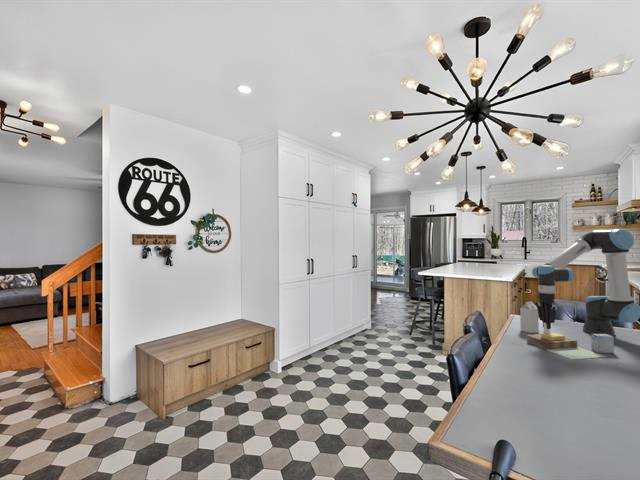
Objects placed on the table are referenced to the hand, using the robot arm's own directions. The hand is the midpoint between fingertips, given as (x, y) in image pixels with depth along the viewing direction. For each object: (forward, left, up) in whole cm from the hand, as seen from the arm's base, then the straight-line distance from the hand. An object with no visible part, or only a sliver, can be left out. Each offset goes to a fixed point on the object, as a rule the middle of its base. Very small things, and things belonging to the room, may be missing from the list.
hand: (547, 334), depth 178 cm
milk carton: (-10, -22, -6) cm, 25 cm away
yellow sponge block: (0, +4, -1) cm, 4 cm away
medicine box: (-17, +17, -6) cm, 24 cm away
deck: (0, +3, -5) cm, 6 cm away
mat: (0, +17, -5) cm, 17 cm away
